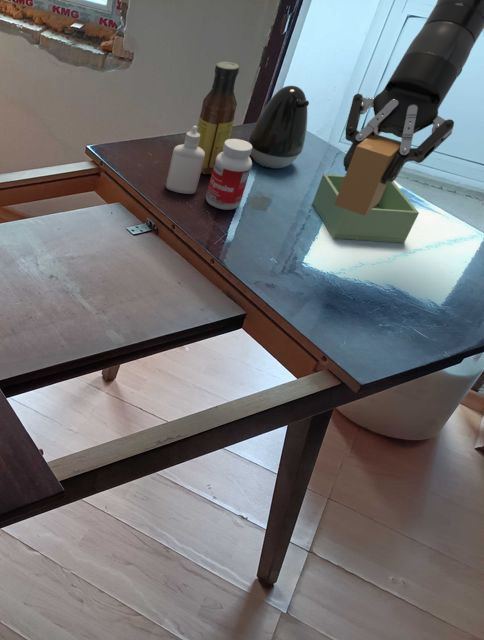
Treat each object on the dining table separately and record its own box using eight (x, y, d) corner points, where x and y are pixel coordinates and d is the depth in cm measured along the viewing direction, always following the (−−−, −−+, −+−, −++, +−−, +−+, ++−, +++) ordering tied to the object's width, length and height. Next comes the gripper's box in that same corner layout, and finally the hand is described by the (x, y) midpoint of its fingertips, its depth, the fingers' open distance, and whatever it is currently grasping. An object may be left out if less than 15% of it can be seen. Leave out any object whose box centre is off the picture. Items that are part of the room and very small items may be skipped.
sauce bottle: (222, 165, 135) (249, 61, 122) (221, 179, 131) (250, 73, 118) (188, 160, 136) (212, 57, 123) (187, 174, 132) (211, 68, 119)
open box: (378, 207, 125) (391, 178, 122) (404, 243, 116) (419, 212, 112) (312, 203, 125) (323, 173, 121) (332, 238, 116) (345, 207, 112)
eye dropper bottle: (185, 198, 124) (200, 135, 116) (161, 186, 127) (174, 124, 119) (200, 191, 126) (215, 128, 118) (175, 180, 129) (189, 118, 121)
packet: (379, 201, 100) (404, 143, 94) (364, 216, 97) (390, 156, 91) (349, 191, 102) (372, 133, 97) (333, 204, 99) (356, 145, 93)
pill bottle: (198, 200, 124) (212, 142, 116) (217, 191, 127) (233, 133, 120) (227, 214, 120) (244, 155, 113) (246, 204, 124) (264, 146, 116)
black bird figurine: (260, 176, 132) (284, 98, 122) (235, 153, 140) (256, 77, 130) (306, 173, 135) (334, 96, 125) (279, 150, 142) (303, 76, 132)
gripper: (378, 38, 94) (314, 147, 95) (490, 64, 88) (420, 181, 88) (377, 68, 101) (317, 170, 102) (481, 95, 94) (416, 204, 95)
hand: (365, 175), depth 95 cm, fingers closed on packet, 4 cm apart
